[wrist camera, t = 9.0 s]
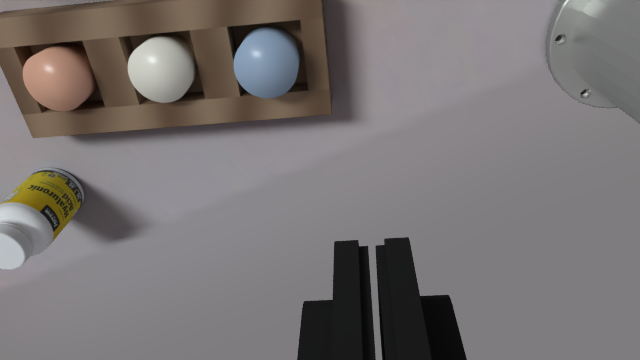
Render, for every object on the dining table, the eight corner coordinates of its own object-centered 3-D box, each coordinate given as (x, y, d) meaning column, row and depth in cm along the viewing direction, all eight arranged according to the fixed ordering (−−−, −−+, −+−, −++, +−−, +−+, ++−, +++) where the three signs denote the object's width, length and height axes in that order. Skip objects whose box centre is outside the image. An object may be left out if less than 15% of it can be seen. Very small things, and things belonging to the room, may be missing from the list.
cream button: (191, 29, 38) (181, 39, 36) (205, 87, 41) (196, 100, 38) (133, 35, 39) (119, 45, 36) (150, 91, 41) (138, 105, 39)
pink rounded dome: (89, 39, 39) (72, 50, 36) (108, 95, 42) (93, 108, 39) (33, 44, 39) (12, 55, 37) (55, 99, 42) (37, 113, 39)
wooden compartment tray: (321, -21, 37) (319, -14, 35) (331, 100, 42) (331, 114, 40) (3, 11, 39) (-20, 20, 37) (50, 123, 44) (33, 138, 42)
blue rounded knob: (296, 22, 37) (293, 32, 34) (303, 82, 40) (301, 95, 37) (235, 28, 37) (227, 38, 35) (246, 87, 40) (240, 100, 37)
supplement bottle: (97, 193, 48) (47, 257, 40) (64, 219, 50) (9, 286, 42) (52, 155, 46) (-11, 214, 38) (19, 184, 48) (-48, 247, 40)
